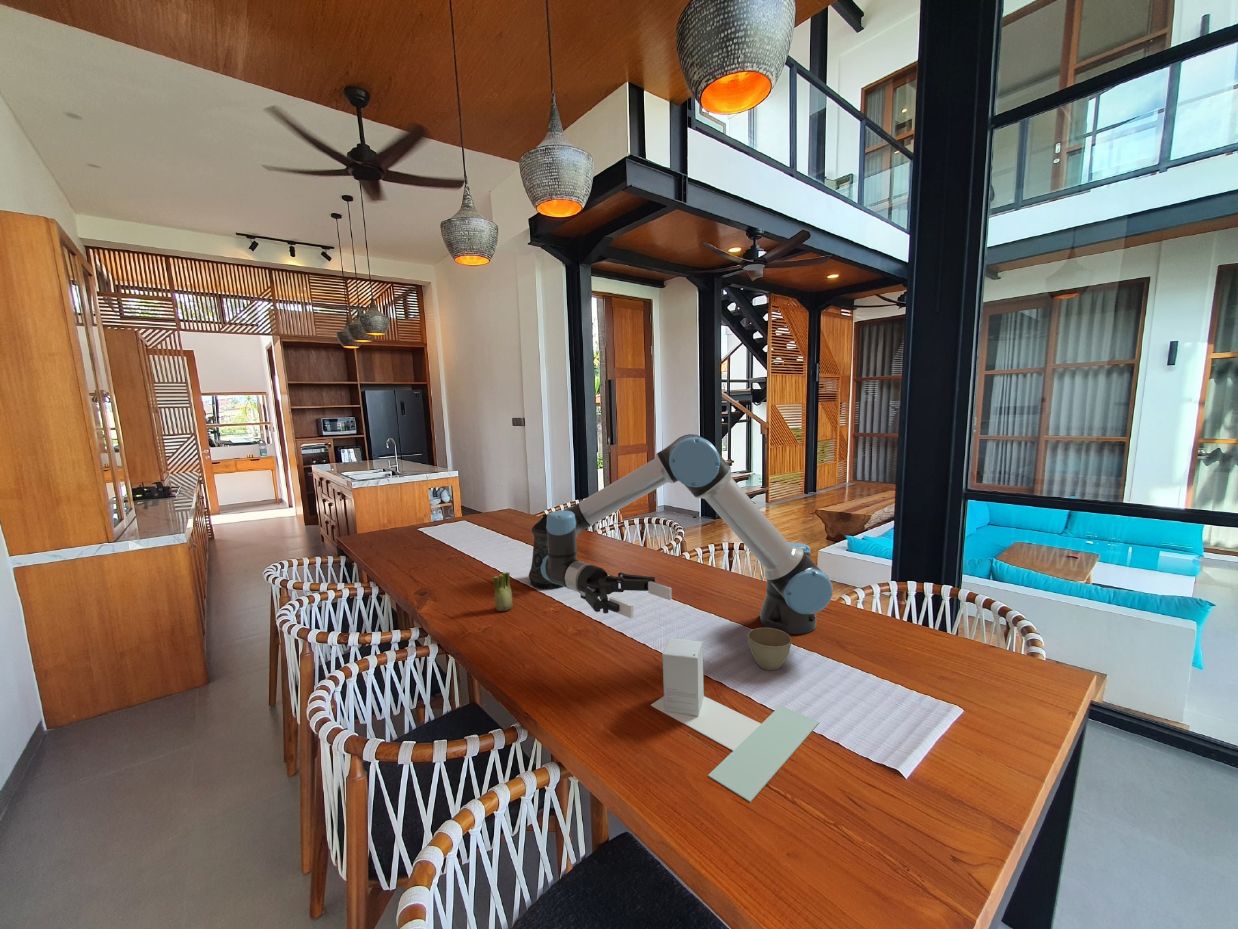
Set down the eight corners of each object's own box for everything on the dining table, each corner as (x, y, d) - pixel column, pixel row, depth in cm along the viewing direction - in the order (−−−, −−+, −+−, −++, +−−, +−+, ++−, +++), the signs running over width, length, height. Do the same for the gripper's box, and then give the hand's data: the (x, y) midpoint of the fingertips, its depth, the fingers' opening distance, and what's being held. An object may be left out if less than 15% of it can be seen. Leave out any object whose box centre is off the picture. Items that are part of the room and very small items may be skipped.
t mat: (624, 724, 96) (624, 723, 96) (701, 670, 114) (701, 670, 114) (750, 802, 76) (750, 801, 76) (819, 723, 94) (819, 722, 94)
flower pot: (794, 677, 110) (794, 648, 109) (749, 674, 112) (749, 645, 111) (788, 655, 120) (788, 628, 119) (746, 652, 122) (746, 625, 121)
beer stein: (551, 571, 188) (548, 508, 185) (589, 580, 177) (586, 513, 174) (519, 584, 175) (515, 517, 172) (558, 595, 163) (555, 523, 160)
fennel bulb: (496, 614, 150) (493, 577, 148) (493, 608, 154) (491, 572, 153) (514, 610, 152) (512, 574, 151) (511, 605, 156) (509, 569, 155)
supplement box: (704, 696, 104) (703, 641, 102) (698, 717, 97) (697, 658, 95) (671, 690, 106) (669, 636, 105) (663, 711, 99) (661, 653, 98)
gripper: (621, 580, 129) (686, 602, 114) (548, 609, 112) (612, 638, 97) (621, 553, 128) (685, 571, 113) (547, 578, 111) (611, 603, 96)
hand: (652, 602), depth 105 cm, fingers open, 12 cm apart
